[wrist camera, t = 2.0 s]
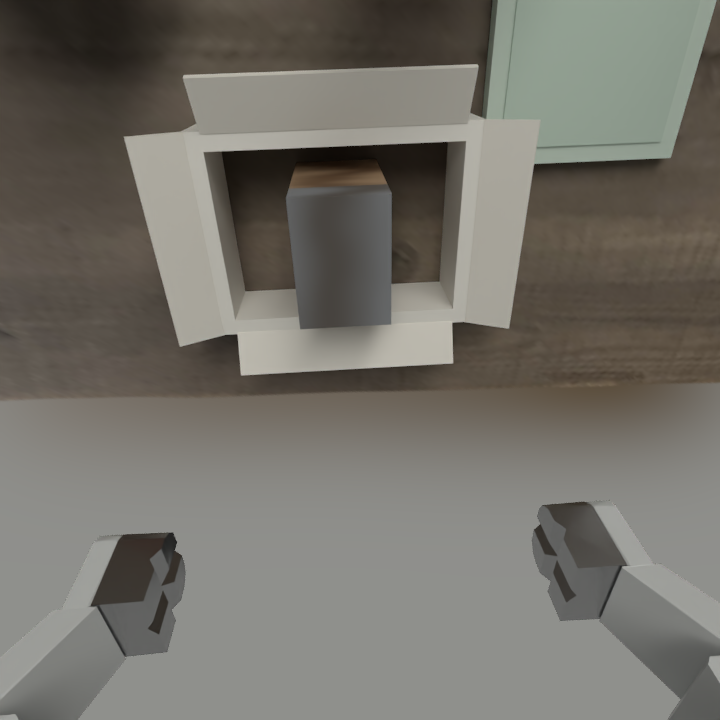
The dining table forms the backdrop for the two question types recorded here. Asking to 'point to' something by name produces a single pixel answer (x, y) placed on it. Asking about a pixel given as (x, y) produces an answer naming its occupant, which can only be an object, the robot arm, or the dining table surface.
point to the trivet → (595, 73)
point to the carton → (331, 129)
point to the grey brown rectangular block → (341, 243)
